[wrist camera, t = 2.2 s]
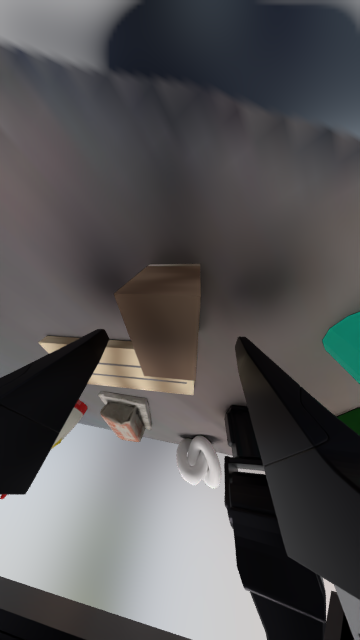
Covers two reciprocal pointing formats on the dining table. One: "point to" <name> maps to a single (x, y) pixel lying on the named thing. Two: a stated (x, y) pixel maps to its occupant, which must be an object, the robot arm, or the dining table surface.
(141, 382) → the board
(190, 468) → the white knot sculpture
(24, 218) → the dining table surface
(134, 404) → the packaged product
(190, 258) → the dining table surface
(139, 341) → the block
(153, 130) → the dining table surface
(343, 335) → the candle
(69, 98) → the dining table surface
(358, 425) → the milk carton
